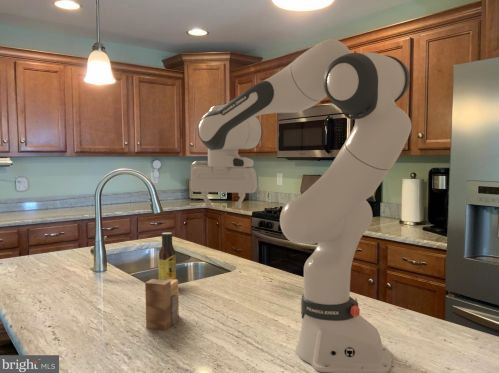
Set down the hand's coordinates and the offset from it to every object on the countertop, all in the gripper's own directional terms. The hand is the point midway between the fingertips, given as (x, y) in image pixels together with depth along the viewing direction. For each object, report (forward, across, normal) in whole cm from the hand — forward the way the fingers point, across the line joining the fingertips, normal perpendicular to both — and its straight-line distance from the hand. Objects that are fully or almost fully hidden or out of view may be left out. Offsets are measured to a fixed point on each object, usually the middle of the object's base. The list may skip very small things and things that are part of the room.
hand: (223, 207), depth 118 cm
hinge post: (+33, -15, -11) cm, 38 cm away
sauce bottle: (+33, -30, +20) cm, 49 cm away
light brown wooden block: (+33, -15, -6) cm, 37 cm away
